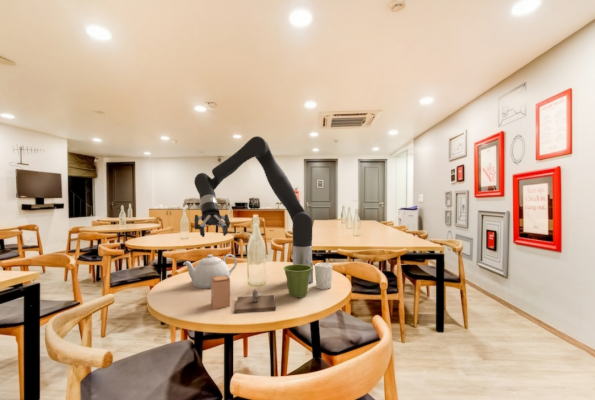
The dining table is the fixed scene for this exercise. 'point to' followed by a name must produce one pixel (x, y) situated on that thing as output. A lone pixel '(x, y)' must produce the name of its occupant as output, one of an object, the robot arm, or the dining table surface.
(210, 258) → the teapot
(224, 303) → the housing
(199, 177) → the robot arm
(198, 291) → the dining table surface
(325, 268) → the white cup
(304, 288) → the plant pot
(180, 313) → the dining table surface
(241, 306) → the plate
